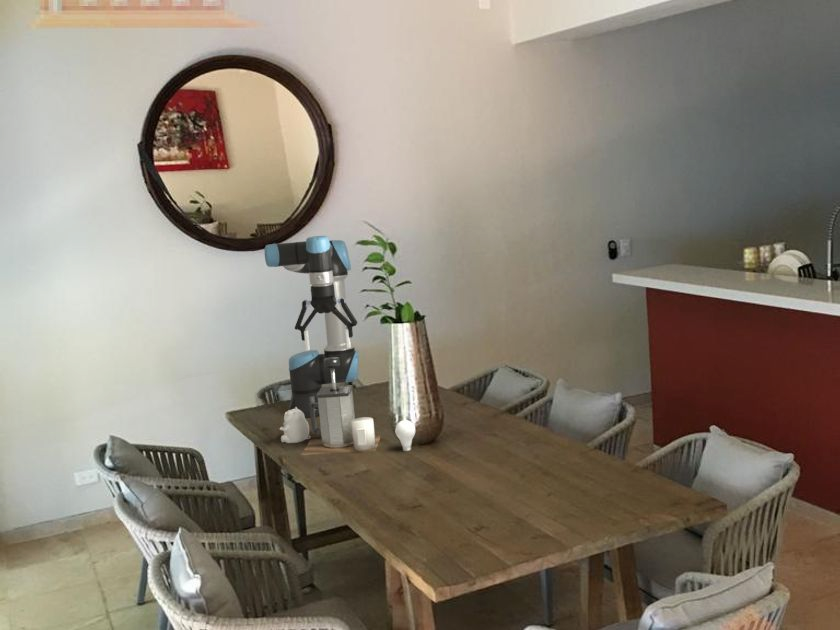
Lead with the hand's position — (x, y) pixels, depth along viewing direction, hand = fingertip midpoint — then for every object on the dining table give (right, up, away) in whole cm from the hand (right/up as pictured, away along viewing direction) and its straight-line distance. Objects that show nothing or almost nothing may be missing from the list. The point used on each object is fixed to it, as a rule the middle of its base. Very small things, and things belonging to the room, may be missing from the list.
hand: (328, 348), depth 284 cm
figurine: (-12, -33, +12) cm, 37 cm away
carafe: (+2, -31, +3) cm, 31 cm away
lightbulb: (+26, -33, -9) cm, 43 cm away
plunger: (+3, -21, +1) cm, 21 cm away
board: (+4, -33, +1) cm, 33 cm away
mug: (+12, -31, -4) cm, 34 cm away
